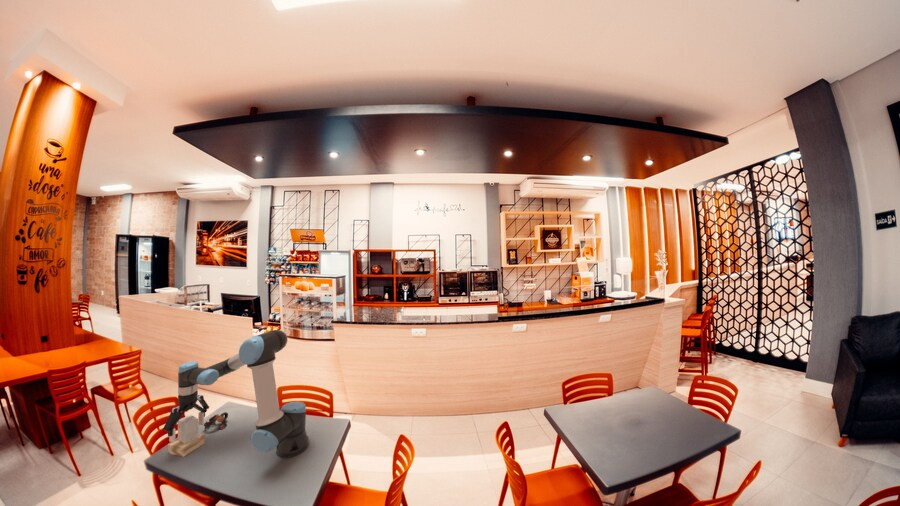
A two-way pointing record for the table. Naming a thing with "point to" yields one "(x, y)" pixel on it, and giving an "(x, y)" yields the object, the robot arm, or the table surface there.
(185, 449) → the oak block
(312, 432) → the table surface
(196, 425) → the small box
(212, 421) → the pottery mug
